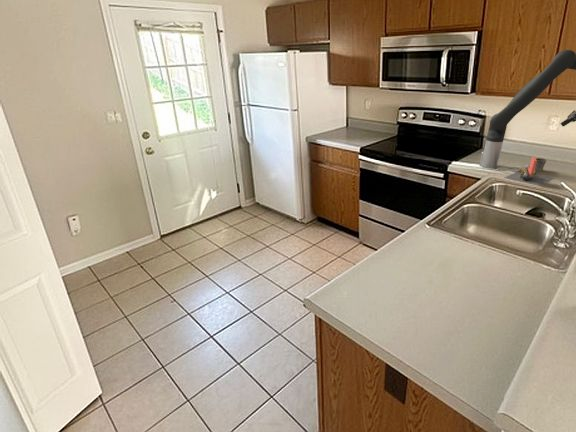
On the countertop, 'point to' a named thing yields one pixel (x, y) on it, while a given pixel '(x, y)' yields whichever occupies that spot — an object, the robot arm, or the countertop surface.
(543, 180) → the mat
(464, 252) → the countertop surface
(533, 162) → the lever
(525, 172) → the valve body
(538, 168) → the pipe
